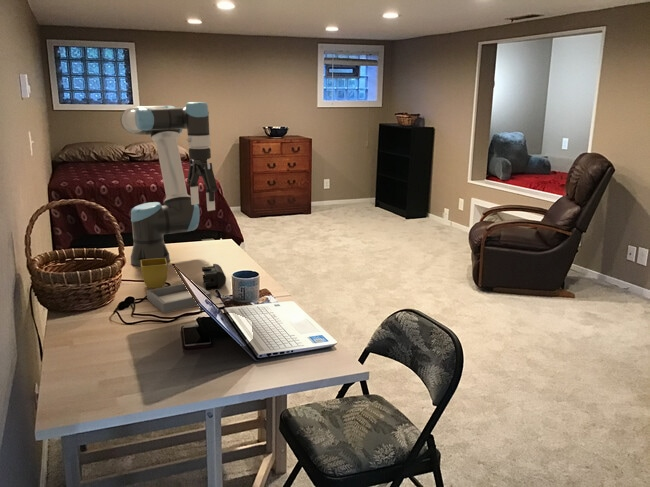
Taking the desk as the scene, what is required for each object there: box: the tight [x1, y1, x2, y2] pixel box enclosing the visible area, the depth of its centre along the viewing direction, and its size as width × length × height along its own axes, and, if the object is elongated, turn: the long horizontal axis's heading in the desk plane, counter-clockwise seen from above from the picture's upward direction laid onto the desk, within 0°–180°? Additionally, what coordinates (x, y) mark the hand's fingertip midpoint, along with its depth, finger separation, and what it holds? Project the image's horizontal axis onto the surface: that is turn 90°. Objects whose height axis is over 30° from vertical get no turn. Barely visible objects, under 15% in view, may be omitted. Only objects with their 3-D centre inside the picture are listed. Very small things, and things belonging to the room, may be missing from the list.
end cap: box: [201, 263, 227, 292], centre depth 201 cm, size 10×7×7 cm
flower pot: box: [140, 258, 168, 289], centre depth 200 cm, size 9×9×9 cm
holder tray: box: [146, 282, 212, 314], centre depth 187 cm, size 15×16×3 cm
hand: (203, 207), depth 204 cm, fingers open, 13 cm apart
